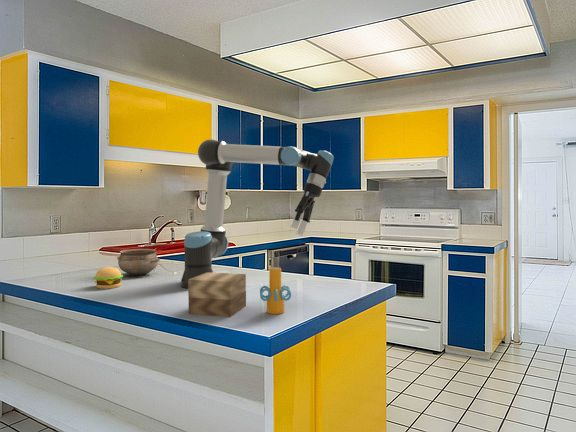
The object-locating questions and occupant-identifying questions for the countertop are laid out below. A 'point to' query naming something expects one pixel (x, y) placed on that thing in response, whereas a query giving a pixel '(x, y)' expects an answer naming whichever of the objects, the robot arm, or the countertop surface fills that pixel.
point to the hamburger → (108, 278)
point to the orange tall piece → (275, 292)
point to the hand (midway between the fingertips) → (296, 231)
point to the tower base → (217, 306)
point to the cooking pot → (138, 261)
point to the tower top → (217, 285)
